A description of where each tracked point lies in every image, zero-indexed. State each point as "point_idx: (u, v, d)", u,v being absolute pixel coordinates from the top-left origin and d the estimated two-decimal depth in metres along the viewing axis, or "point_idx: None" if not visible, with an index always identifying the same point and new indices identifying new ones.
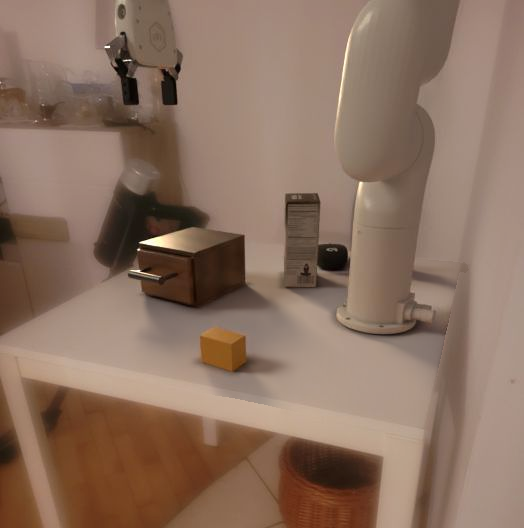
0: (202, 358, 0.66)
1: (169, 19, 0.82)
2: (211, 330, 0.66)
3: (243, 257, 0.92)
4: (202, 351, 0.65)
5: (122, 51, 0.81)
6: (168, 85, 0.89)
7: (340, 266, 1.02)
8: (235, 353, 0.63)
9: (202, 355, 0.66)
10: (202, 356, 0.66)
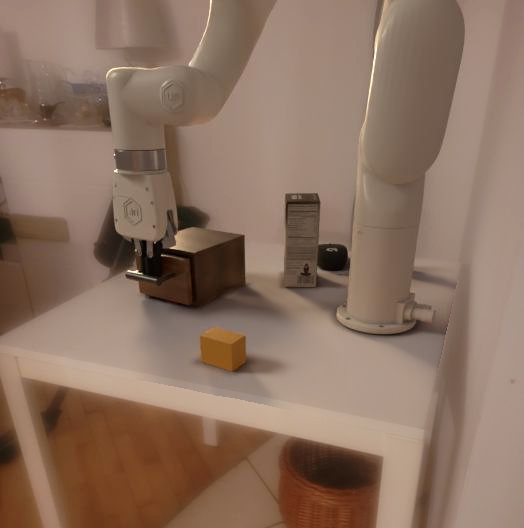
0: (202, 358, 0.66)
1: (148, 194, 0.72)
2: (211, 330, 0.66)
3: (243, 257, 0.92)
4: (202, 351, 0.65)
5: None
6: None
7: (340, 266, 1.02)
8: (235, 353, 0.63)
9: (202, 355, 0.66)
10: (202, 356, 0.66)
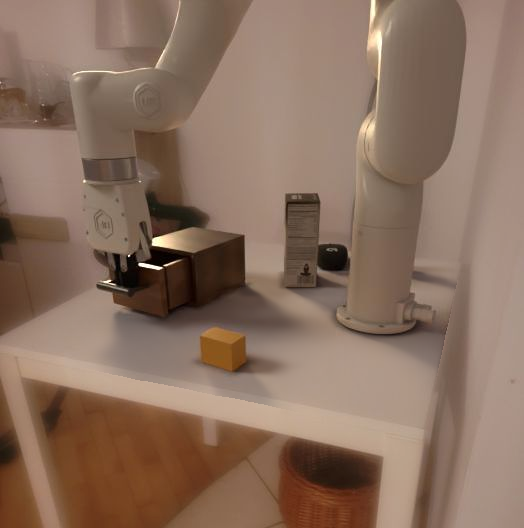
0: (202, 358, 0.66)
1: (118, 205, 0.68)
2: (211, 330, 0.66)
3: (243, 257, 0.92)
4: (202, 351, 0.65)
5: None
6: None
7: (340, 266, 1.02)
8: (235, 353, 0.63)
9: (202, 355, 0.66)
10: (202, 356, 0.66)
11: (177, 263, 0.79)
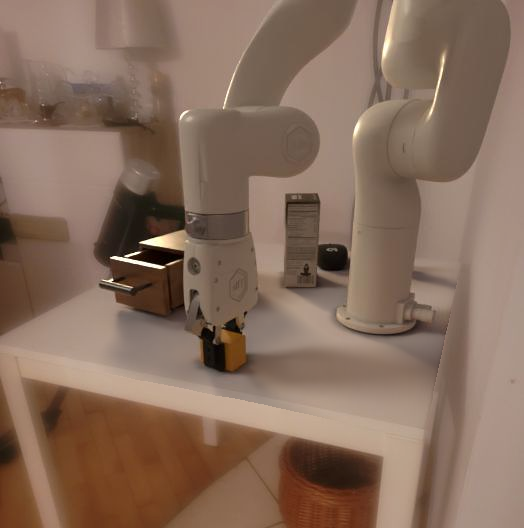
0: (202, 358, 0.66)
1: (252, 255, 0.61)
2: (211, 330, 0.66)
3: None
4: (202, 351, 0.65)
5: None
6: None
7: (340, 266, 1.02)
8: (235, 353, 0.63)
9: (202, 355, 0.66)
10: (202, 356, 0.66)
11: (179, 262, 0.79)
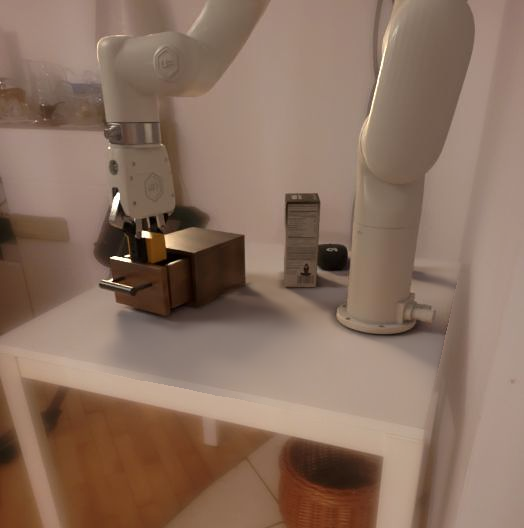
0: (130, 255, 0.80)
1: (167, 164, 0.75)
2: None
3: (243, 257, 0.92)
4: (129, 248, 0.79)
5: None
6: None
7: (340, 266, 1.02)
8: (155, 248, 0.77)
9: None
10: None
11: (179, 262, 0.79)
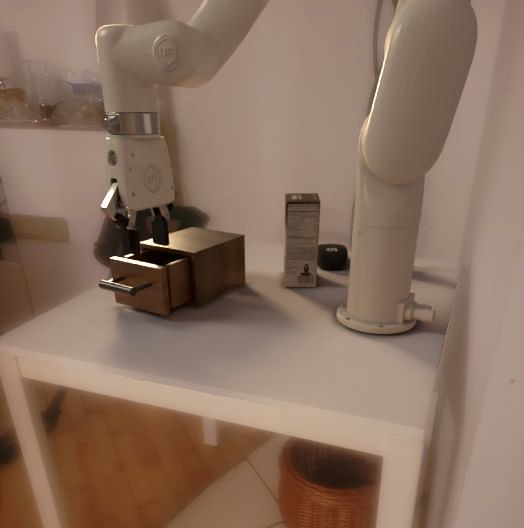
0: None
1: (166, 156, 0.74)
2: None
3: (243, 257, 0.92)
4: None
5: None
6: (159, 226, 0.80)
7: (340, 266, 1.02)
8: None
9: None
10: None
11: (179, 262, 0.79)
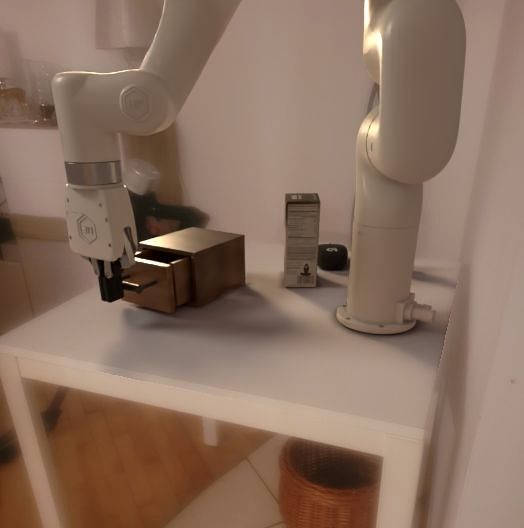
0: None
1: (102, 210, 0.66)
2: None
3: (243, 257, 0.92)
4: None
5: None
6: None
7: (340, 266, 1.02)
8: None
9: None
10: None
11: (184, 260, 0.80)
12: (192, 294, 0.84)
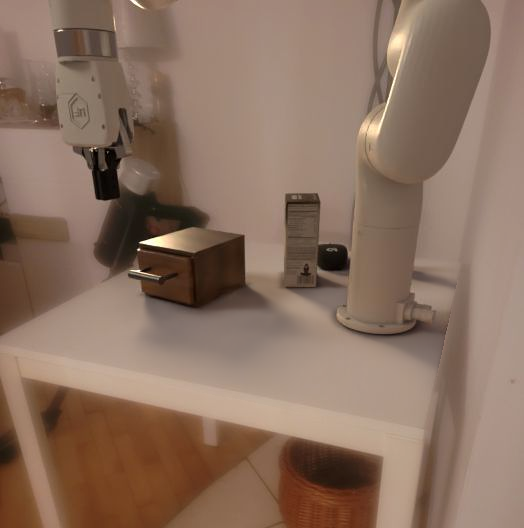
0: None
1: (95, 85, 0.60)
2: None
3: (243, 257, 0.92)
4: None
5: None
6: None
7: (340, 266, 1.02)
8: None
9: None
10: None
11: None
12: None
